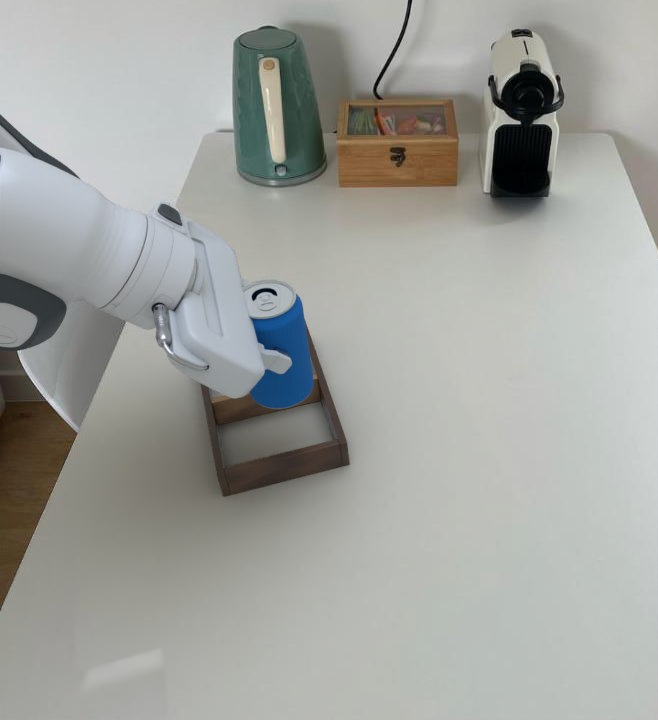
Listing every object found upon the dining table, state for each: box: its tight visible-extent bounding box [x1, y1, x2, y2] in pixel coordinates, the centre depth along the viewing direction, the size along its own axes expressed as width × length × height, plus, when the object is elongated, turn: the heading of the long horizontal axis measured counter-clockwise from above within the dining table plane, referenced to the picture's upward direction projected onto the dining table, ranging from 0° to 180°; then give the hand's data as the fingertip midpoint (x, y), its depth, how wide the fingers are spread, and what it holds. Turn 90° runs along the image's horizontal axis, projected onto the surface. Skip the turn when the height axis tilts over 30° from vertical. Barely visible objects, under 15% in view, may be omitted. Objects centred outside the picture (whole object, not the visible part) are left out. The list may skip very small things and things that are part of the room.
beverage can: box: [242, 278, 314, 409], centre depth 78 cm, size 6×6×12 cm
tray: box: [200, 320, 351, 497], centre depth 92 cm, size 14×22×4 cm, turn 17°
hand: (279, 337), depth 77 cm, fingers closed on beverage can, 6 cm apart
